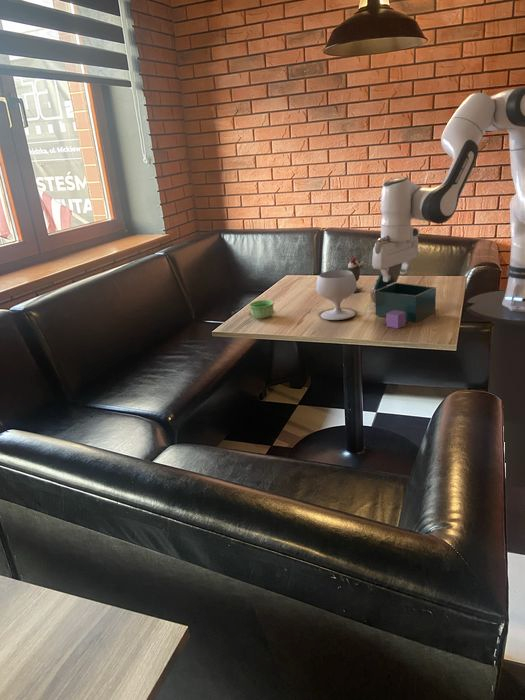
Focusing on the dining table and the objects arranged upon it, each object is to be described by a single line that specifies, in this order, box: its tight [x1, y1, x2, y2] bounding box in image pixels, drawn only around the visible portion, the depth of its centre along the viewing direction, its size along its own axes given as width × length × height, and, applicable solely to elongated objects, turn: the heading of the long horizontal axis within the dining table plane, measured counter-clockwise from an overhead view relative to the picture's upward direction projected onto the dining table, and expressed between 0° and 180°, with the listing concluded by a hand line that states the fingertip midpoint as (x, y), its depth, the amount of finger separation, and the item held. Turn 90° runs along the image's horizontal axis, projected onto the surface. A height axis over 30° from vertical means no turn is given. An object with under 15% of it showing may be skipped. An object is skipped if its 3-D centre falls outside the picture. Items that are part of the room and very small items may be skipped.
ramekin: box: [248, 299, 274, 319], centre depth 197 cm, size 9×9×4 cm
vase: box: [369, 278, 386, 305], centre depth 197 cm, size 7×7×9 cm
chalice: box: [315, 269, 358, 321], centre depth 186 cm, size 14×14×15 cm
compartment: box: [375, 282, 437, 323], centre depth 183 cm, size 16×13×9 cm
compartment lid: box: [375, 263, 402, 290], centre depth 182 cm, size 17×13×5 cm
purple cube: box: [385, 310, 407, 329], centre depth 173 cm, size 4×4×4 cm
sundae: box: [345, 254, 363, 293], centre depth 216 cm, size 7×7×15 cm
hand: (395, 278), depth 168 cm, fingers open, 8 cm apart
